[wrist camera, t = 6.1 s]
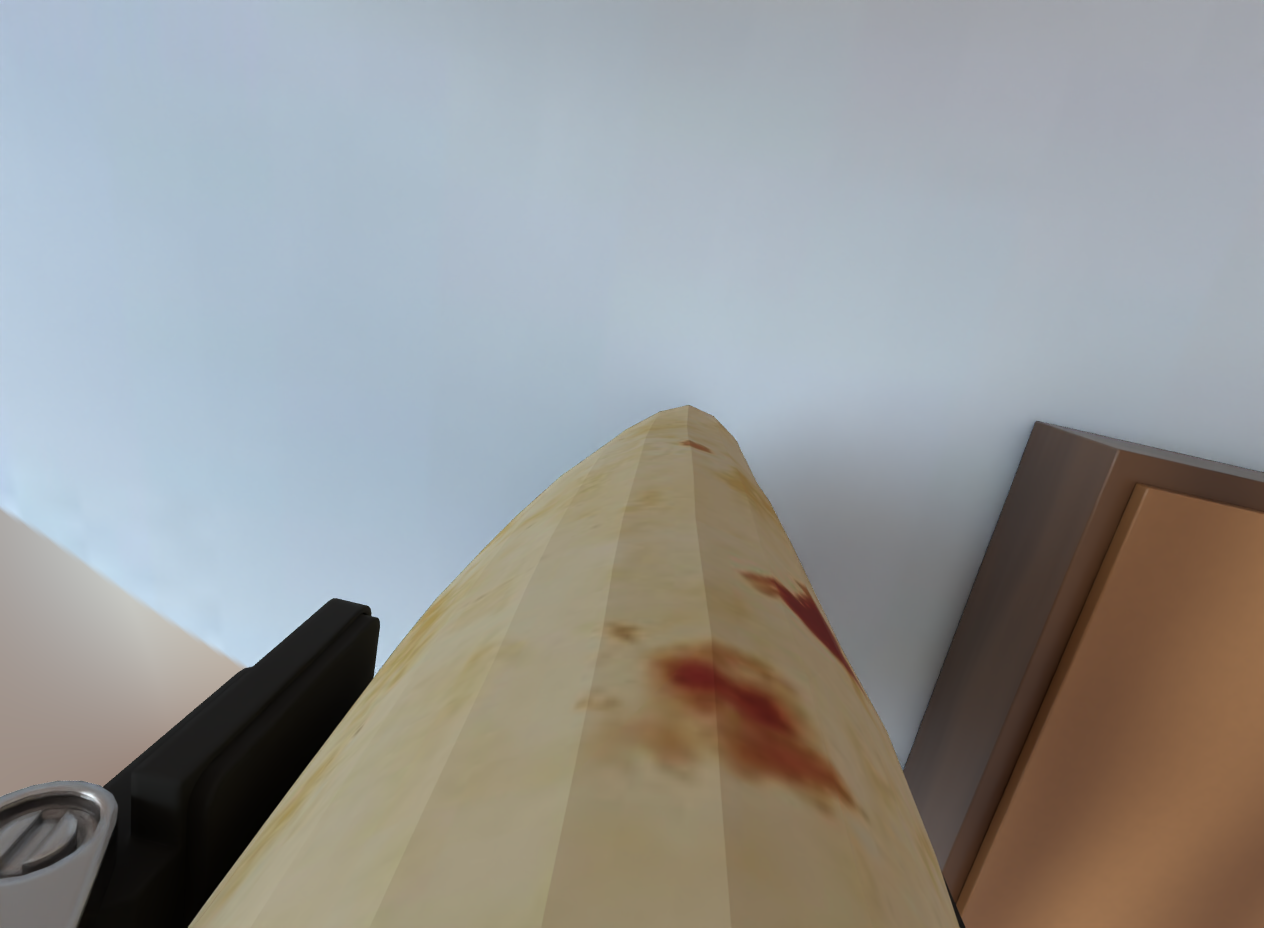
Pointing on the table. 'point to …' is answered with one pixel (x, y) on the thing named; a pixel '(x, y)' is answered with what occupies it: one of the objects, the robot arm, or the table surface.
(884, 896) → the food model
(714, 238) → the table surface
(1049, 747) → the stand
